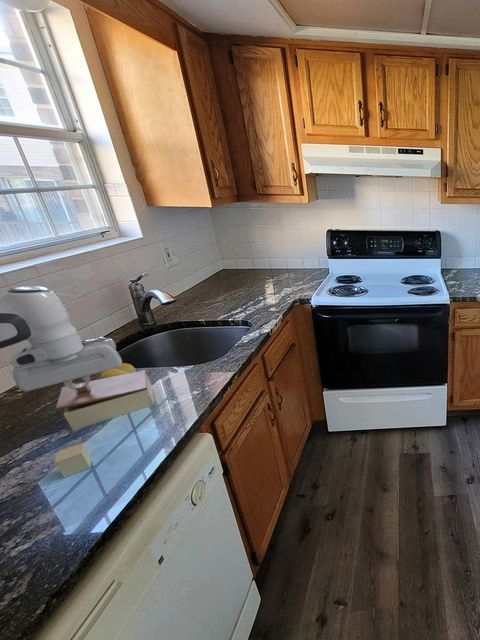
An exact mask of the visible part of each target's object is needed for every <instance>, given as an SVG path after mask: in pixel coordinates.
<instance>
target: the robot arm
mask: <svg viewBox="0 0 480 640" xmlns="http://www.w3.org/2000/svg"><path fill="white" fill-rule="evenodd" d="M24 341H28V343H29V344H30V345H27V346H25V347H23V348H20V349H18V350H16V351H15V352H14V353H13V354H12V355H11V357H10V358H9V363H10V365H11V366H12V367H13V369H12V377H13V380H14V382H15V384H16V386H17V388H18V390H20V391H22V392H25V393H26V392H31V391H34V390H38V389H42V388H47V387H49V386H53V385H57V384H61V383H63V385H64V387H65V386H67V387H69V388H72V389H74V391H75V392H76V394H78V393H82V392H85V391H89V390H91V387H90V385H89V381H91V375H95V374H99V373H102V372H103V371H107V370H111V369H115V368H118V367H120V366H121V364H122V363H123V359H122V357H121V355H120V354H119V352H118V351H117V344H116V342H115V340H114V339H112V338H109V337H104V336H100V337H98V338H93V339H92V338H91V339H87V340H82V338H81V336H80V334H79V332H78V330H77V329H76V327H75V326H73V324H72V323H71V320H70V315H69V312H68V310H67V309H66V307H65V305H64V303H63V302H62V301H61V299H60V297H59V296H58V295H57V294H56V293H55V291H53V290H52V289H50V288H47V287H45V286H38V285H24V286H23V285H21V286H18V287H17V286H15V287H11V288H8V289H6V290H5V291H4V292H3V293H2V294H1V295H0V349H4V348H7V347H10V346H14V345H16V344H18V343H21V342H24ZM77 379H82V380H83V381H84V383H85V384H81V385H76V384H77V383H74V382H73V380H77Z"/></svg>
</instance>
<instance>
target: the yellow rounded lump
mask: <svg viewBox="0 0 480 640" xmlns="http://www.w3.org/2000/svg"><path fill="white" fill-rule="evenodd" d="M135 369H136V368H135V367H134V366H133V365H132V364H130V363H125V362H122V364H121V366H120V367H118V368H115V369H111V370H107V371H103V372H100V375H99V379H104V378H109V377H114V376H119V375H124V374H129V373H134V372H137V369H136V370H135Z"/></svg>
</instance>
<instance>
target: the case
mask: <svg viewBox="0 0 480 640" xmlns="http://www.w3.org/2000/svg"><path fill="white" fill-rule="evenodd" d="M146 381H147V390H143V391H138V392H134V393H130V394H125V395H121V396H117V397H112V398H108V399H103V400H99V401H95V402H90V403H86V404H82V405H77V406H73V407H69V408H64V412H63V417H64V418H65V420H66V421H67V423H68V425H69V427H70V428H71V430H72V432H74V431H77V430H79V429H83V428H86V427H89V426H92V425H93V426H94V425H96V424H99V423H102V422H105V421H108V420H112V419H115V418H118V417H121V416H124V415H127V414H130V413H134V412H137V411H139V410H143V409H146V408H148V407H152V406H155V399H154V391H153V385H152V383H151V380H150V379H149V376H148V373H146Z"/></svg>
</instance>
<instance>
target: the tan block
mask: <svg viewBox="0 0 480 640" xmlns="http://www.w3.org/2000/svg"><path fill="white" fill-rule="evenodd" d="M92 460H93V456H92V455H91V453H90V452H89V450H88V448H87V446H86V445H85V443H84V442H82V443H78V444H76V445H73V446H70V447H67V448H64V449H61V450H58V451H57V452H56V455H55V458H54V464H55V466H56V467H57V469H58V471H59V473H60V474H61V476H62V477H63V478H67V477H70V476H72V475H75V474H78V473H80V472H83V471H85V470H89V469H91V466H92Z"/></svg>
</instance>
